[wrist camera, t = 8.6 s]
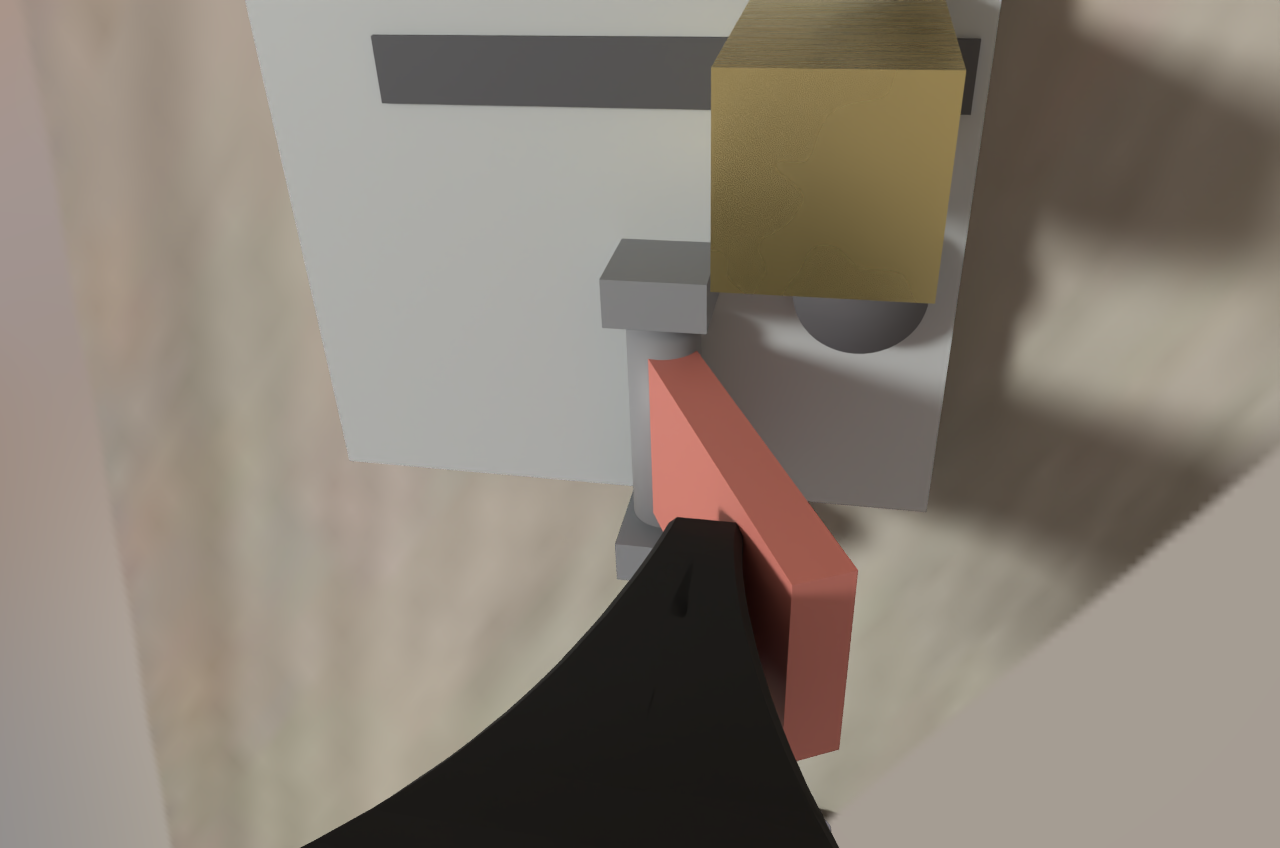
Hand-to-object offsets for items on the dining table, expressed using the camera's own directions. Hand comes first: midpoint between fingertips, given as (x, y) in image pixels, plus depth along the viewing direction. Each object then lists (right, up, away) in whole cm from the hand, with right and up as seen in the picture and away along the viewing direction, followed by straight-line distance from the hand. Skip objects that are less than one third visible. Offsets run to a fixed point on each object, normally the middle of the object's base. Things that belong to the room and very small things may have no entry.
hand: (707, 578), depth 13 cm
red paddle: (0, +2, +4) cm, 4 cm away
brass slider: (+2, +7, 0) cm, 7 cm away
